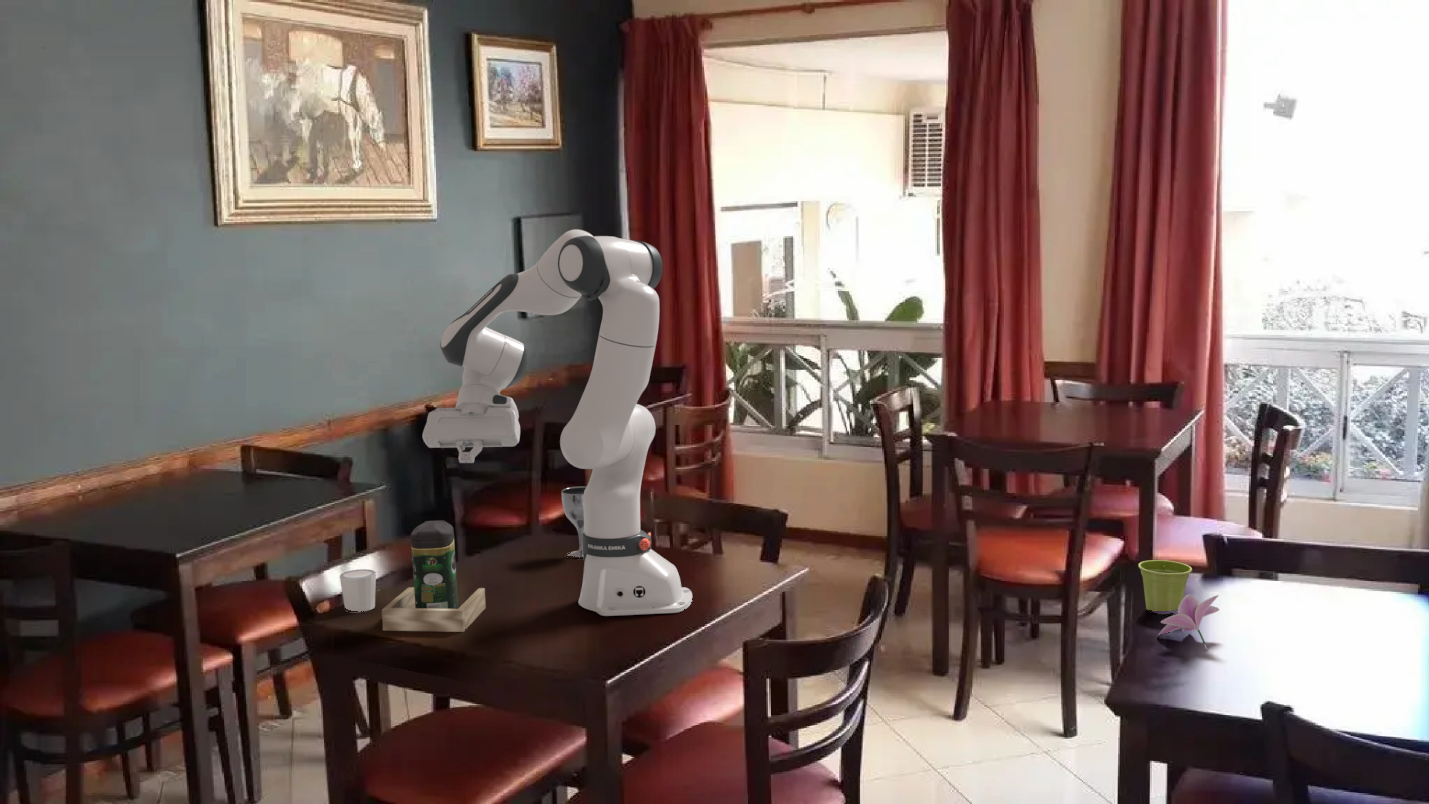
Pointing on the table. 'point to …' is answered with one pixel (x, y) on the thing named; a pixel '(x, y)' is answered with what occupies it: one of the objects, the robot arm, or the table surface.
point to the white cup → (358, 589)
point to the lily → (1189, 615)
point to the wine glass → (575, 511)
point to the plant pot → (1164, 583)
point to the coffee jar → (434, 565)
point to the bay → (431, 614)
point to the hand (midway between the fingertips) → (465, 461)
